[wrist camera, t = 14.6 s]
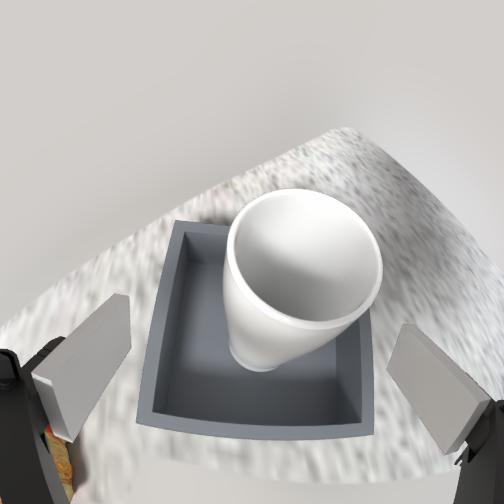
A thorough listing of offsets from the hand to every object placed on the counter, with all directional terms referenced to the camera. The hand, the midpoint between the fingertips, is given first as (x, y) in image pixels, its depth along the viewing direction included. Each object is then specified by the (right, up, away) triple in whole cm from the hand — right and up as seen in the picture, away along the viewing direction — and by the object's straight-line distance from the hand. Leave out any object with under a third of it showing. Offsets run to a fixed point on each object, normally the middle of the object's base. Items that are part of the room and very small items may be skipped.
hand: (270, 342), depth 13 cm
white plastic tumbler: (0, -4, +12) cm, 12 cm away
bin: (0, -4, +12) cm, 13 cm away
